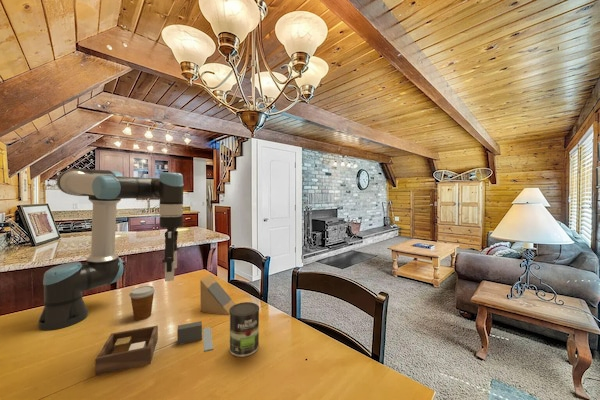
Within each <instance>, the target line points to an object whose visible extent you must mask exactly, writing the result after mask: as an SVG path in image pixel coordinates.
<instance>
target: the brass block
mask: <svg viewBox="0 0 600 400" xmlns="http://www.w3.org/2000/svg"><path fill="white" fill-rule="evenodd" d="M131 344H132V336H130V337H125V338H119V339H117V341H116V343H115V345H114V353H119V352H124V351H128V350H129V348H130V346H131Z"/></svg>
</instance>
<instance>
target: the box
mask: <svg viewBox="0 0 600 400" xmlns="http://www.w3.org/2000/svg"><path fill="white" fill-rule="evenodd" d="M158 327H159V326H158V325H152V326H146V327H141V328H134V329H129V330H124V331H118V332H113V333H112V332H111V333H110V334H109V336H108V338H107V340H106V342H105V343H104V344H103V346H102V347H101V349H100V351H99V353H98V354H97V356H96V357H95V359H94V360H95V361H94V363H95V377H99V376H101V375H106V374H111V373H114V372H115V373H116V372H120V371H124V370H129V369H135V368H138V367H142V366H147V365H151V364H152V361H153V357H154V354H155V351H156V346H157V342H158V340H159V328H158ZM130 336H132V344H134V343H139V342H144V341H146V347H145V348H140V349H134V350H129V351H124V352H119V353H114V345H115V343H116V341H117V339H119V338H125V337H130Z"/></svg>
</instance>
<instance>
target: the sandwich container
mask: <svg viewBox="0 0 600 400" xmlns="http://www.w3.org/2000/svg"><path fill="white" fill-rule="evenodd" d="M199 283H200V284H199V285H200V287H199V289H200V312H202V313H208V314H209V313H210V314H217V315H225V316H230V313H229V310H230V308H231V307H232V306H233V305H235V304H237V303H236V302H235V301H234V300H233V298H231V297H230V295H229V294H228V293H227V291H225V289H224V288H223V286H221V285H220V284H219V282H218V281H217V279H215V277H214V276H213V275H212V274H208V275H207V276H204V277H202V278H201V279H200V282H199Z"/></svg>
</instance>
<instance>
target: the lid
mask: <svg viewBox="0 0 600 400" xmlns="http://www.w3.org/2000/svg"><path fill="white" fill-rule="evenodd" d="M202 324H203V323H202V321H196V322H190V323H185V324H180V325H177V334H176V335H177V345H178V346H179V345H184V344H188V343H193V342H197V341H201V340H203V352H205V353H206V352H210V351H214V344H213V343H214V342H213V337H212V329H211V328H212V327H211V326H208V327H204V328H203V325H202Z"/></svg>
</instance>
